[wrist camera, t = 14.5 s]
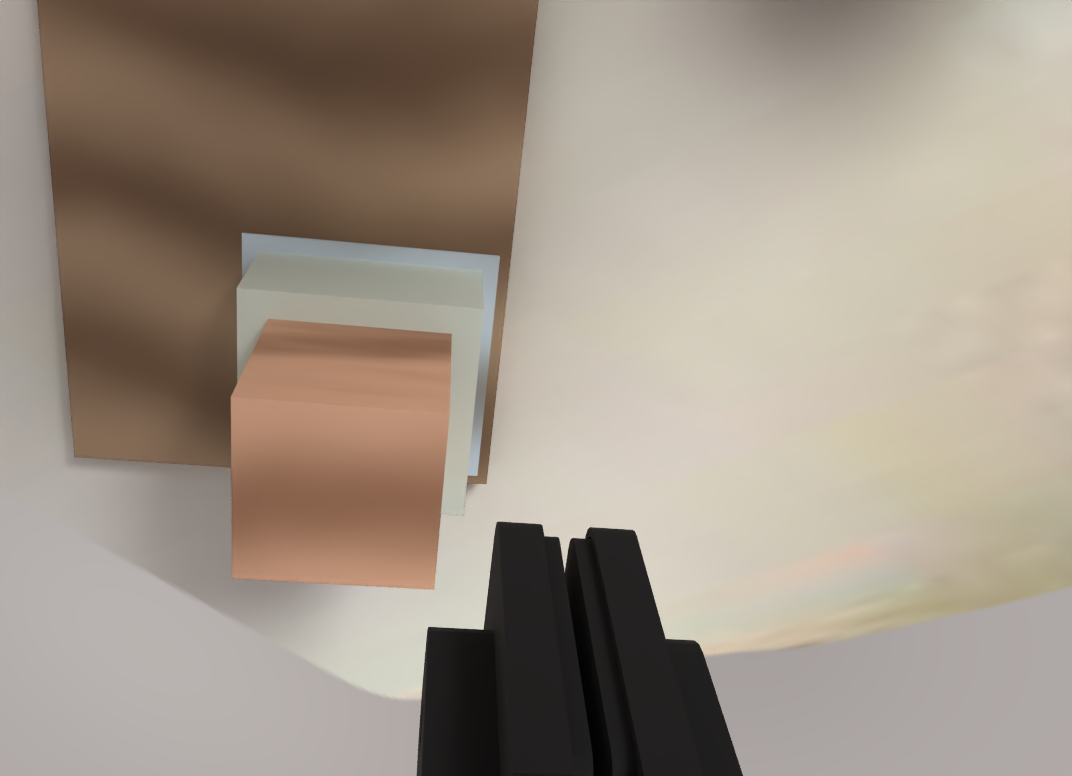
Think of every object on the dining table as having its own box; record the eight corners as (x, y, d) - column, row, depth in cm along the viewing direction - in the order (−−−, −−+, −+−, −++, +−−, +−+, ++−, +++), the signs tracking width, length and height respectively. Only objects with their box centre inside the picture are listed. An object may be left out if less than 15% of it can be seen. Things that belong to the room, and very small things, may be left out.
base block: (258, 250, 37) (236, 288, 33) (482, 270, 37) (483, 308, 34) (258, 448, 40) (238, 501, 36) (463, 462, 41) (463, 515, 37)
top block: (268, 318, 33) (231, 397, 28) (452, 333, 34) (450, 413, 29) (267, 477, 36) (232, 578, 31) (438, 489, 37) (434, 589, 31)
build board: (42, -114, 33) (26, -115, 31) (541, -53, 34) (544, -52, 33) (85, 442, 41) (73, 458, 40) (485, 469, 42) (486, 485, 41)
